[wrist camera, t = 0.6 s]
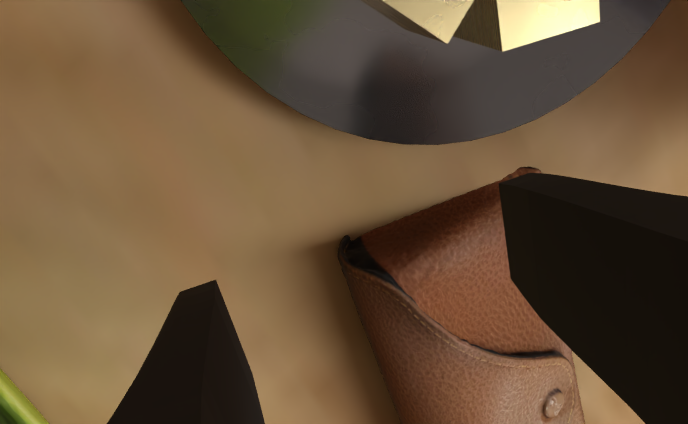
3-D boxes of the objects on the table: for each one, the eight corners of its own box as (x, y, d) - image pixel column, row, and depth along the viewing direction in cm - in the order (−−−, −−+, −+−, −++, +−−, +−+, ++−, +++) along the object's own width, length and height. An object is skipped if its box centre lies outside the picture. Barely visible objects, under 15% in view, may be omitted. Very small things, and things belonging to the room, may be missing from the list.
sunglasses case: (603, 467, 30) (619, 610, 25) (462, 466, 33) (450, 595, 27) (539, 148, 22) (544, 257, 17) (360, 181, 25) (314, 284, 19)
